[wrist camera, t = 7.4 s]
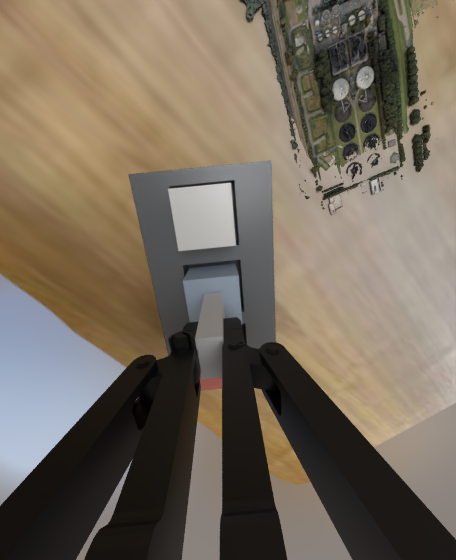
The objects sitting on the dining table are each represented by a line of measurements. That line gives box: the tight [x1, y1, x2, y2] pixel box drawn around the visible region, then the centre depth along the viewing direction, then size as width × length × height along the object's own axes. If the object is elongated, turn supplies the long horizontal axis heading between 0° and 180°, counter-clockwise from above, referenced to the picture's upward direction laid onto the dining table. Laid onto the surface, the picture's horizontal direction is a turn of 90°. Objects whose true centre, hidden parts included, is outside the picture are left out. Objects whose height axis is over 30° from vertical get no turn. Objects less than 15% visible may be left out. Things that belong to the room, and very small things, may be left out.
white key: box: [168, 183, 236, 251], centre depth 18 cm, size 5×5×4 cm
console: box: [129, 161, 276, 356], centre depth 24 cm, size 12×22×5 cm, turn 5°
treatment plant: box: [244, 0, 438, 214], centre depth 19 cm, size 25×18×4 cm
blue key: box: [183, 263, 242, 324], centre depth 20 cm, size 5×5×4 cm
